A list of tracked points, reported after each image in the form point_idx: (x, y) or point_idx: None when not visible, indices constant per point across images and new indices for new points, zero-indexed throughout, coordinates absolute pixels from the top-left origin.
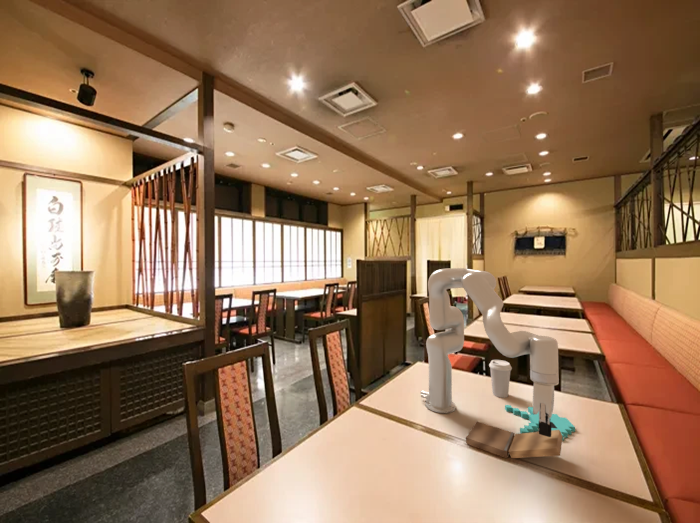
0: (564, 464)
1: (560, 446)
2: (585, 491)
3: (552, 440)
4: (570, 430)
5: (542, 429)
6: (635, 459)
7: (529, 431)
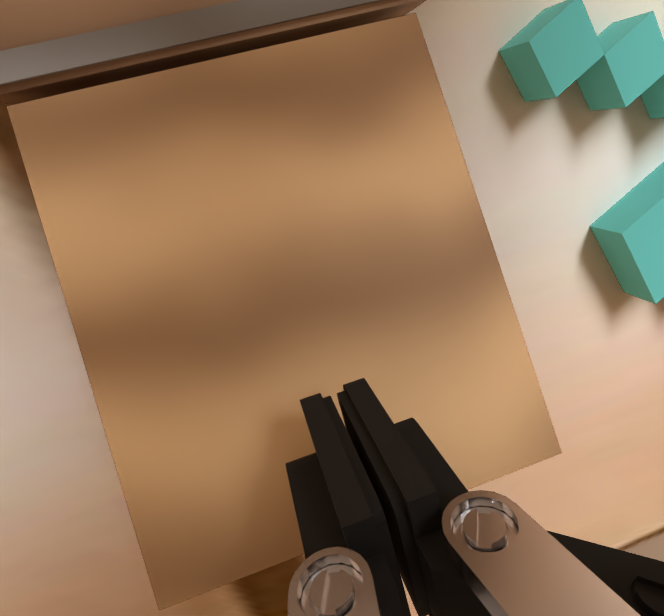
0: None
1: None
2: None
3: None
4: None
5: (297, 501)
6: (635, 534)
7: (593, 82)
